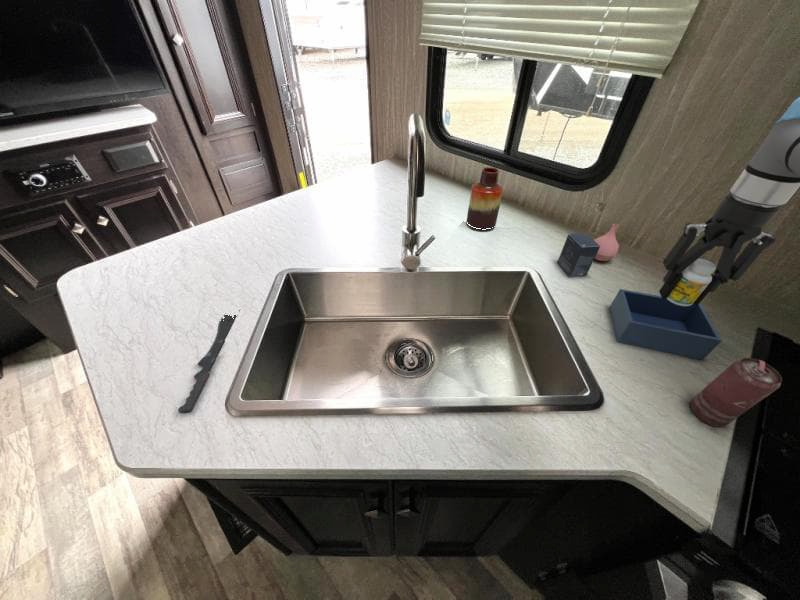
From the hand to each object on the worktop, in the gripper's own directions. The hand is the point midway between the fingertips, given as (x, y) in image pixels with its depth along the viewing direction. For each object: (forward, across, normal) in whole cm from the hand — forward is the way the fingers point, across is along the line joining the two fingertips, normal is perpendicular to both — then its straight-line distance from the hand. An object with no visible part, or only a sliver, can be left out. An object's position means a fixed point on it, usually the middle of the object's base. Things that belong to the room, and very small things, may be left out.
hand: (678, 297), depth 71 cm
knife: (+11, +99, +39) cm, 107 cm away
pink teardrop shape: (+11, +8, -31) cm, 34 cm away
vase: (+11, +48, -42) cm, 64 cm away
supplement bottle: (0, 0, 0) cm, 0 cm away
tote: (+11, 0, 0) cm, 11 cm away
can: (+11, -5, +21) cm, 24 cm away
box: (+11, +17, -22) cm, 30 cm away
